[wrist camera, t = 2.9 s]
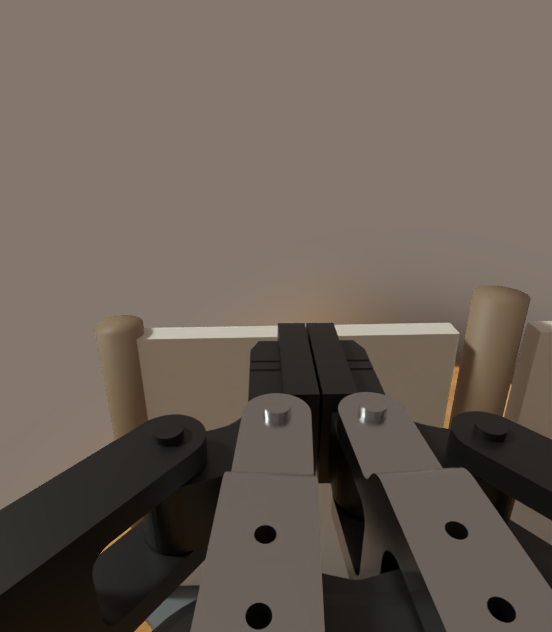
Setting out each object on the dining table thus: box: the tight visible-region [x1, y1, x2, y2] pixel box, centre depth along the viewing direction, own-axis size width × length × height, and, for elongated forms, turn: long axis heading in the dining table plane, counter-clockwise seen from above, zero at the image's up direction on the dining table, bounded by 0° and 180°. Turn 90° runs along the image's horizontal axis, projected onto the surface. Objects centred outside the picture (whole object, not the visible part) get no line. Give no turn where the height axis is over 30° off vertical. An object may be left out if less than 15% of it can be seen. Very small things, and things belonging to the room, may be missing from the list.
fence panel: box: [94, 315, 459, 586], centre depth 21 cm, size 14×2×14 cm, turn 92°
